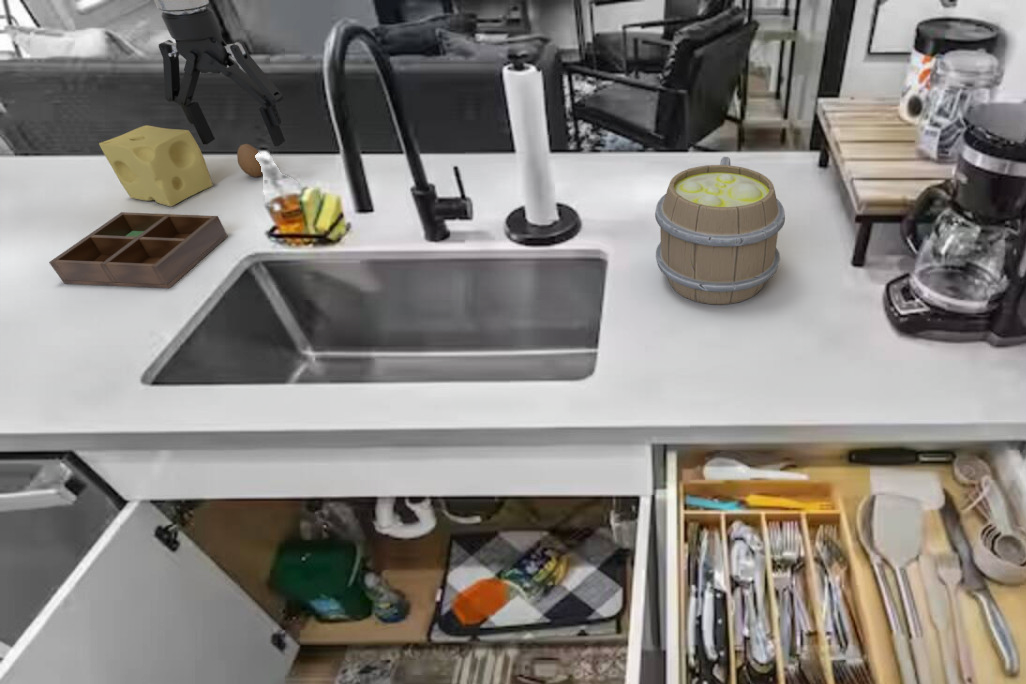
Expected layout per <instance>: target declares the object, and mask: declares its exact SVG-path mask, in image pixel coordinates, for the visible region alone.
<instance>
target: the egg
mask: <svg viewBox="0 0 1026 684" xmlns="http://www.w3.org/2000/svg"><path fill="white" fill-rule="evenodd" d="M258 152H259V153H260V151H259V150H258V149H256V147H254V146H253V145H251V144H248V143H243V144H240V145H239V147H238V149H237V152H236V158H237V163H238V166H239V168H240V169H241V170H242V172H244V173H245V175H247V176H250V177H253V178H259V177H262V176H263V175H262V172H261V166H260V164H259V162H258V161H257V160H256V158H255V155H256V154H257V153H258Z"/></svg>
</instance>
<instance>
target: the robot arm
mask: <svg viewBox="0 0 1026 684" xmlns="http://www.w3.org/2000/svg"><path fill="white" fill-rule="evenodd" d="M153 1H154V4H155V6H156V8H157V9H158V10H160V11H163V12H162V13H161V18H162V20H163V22H164V24H165V27H166V29H167V31H168V34H169V35H170V37H171V38H172V39H173V40H174V41H175V42H173V40H171V39H167V40H165V41H163V42H160V43H159V44H158V49H159V51H160V55H161V57H162V65H163V67H162V68H163V83H164V99H165V100H166V101H167V102H168V103H173V102H174V103H176V104H178V105H179V106H180V107H181V108H182V111H183V113H184V115H185V117H186V119H187V121H188V122H189V124H191V125H193V126H194V129H195V130H196V132H197V135H198V136H199V139H200V141H201V143H202V145H209V144H211V142H213V141H215V139H216V138H215V136H214V133H213V132H212V129H211V127H210V125H209V123H208V120H207V118H206V117H205V115H204V112H203V111H202V108H201V106H200V103H199V102H198V101H194V100H195V98H194V94H195V92H196V87H197V84H198V81H199V77H200V74H208V73H211V74H216V75H217V74H220V73H221V74H222V75H224V76H225V77H227V78H228V79H231V80H232V81H233V82H234V83H235V84H237V85H238V86H239V87H240V88H241V89H242V90H243V91H245V93H247V94H248V95H249V96H250V97H252V99H254V100H255V101H256V102H257V103H258V104H259V105H260V107H259V108H258V110H259V112H260V115H261V117H262V120H263V122H264V125H265V127H266V129H267V132H268V134H269V136H270V139H271V141H272V144H273V146H274V147H280V146H281V145H282V144H283V143H285V142H286V139H285V137H284V136H285V135H284V134H283V131H282V129H281V127H280V125H281V124H282V120H281V115H280V114H279V112H278V109H277V107H276V106H277V104H279V103H280V102H281V101H282V100H283V99H284V96H283V94H282V93H281V91H280V90H279V89H278V88H277V87H276V86H275V84H274V83H273V82H272V81H271V79H270V78H269V77H268V76H267V75H266V73H265V72H264V71H263V70H262V68H261V67H260V66H259V65H258V63H257V62H256V60H254V59H253V58H252V56H251V54H250V53H249V51H248V48H247V47H246V45H245V43H244V42H243V41H242V40H239V41H236V42H234V43H229V44H227V43H226V42H225V40H224V38H223V35H222V30H221V27H220V25H219V21H218V20H217V17H216V14H215V13H214V10H213V9H211V8H210V7H209V6H208V5H210V2H209V0H153ZM179 56H181V57H183V58H184V60H186V61H185V64H184V68H183V72H184V73H183V75H182V80H181V77H180V75H181V74H180V71H181V70H180V57H179ZM230 56H231V57H230ZM233 59H235V60H236V61H235V60H233Z"/></svg>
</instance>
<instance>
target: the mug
mask: <svg viewBox="0 0 1026 684" xmlns="http://www.w3.org/2000/svg"><path fill="white" fill-rule="evenodd" d="M654 218H655V221H656V223H657V224H658V226H659V227H660V241H659V244H658V245H657V246H656V249H655V260H656V264H657V267H658V269H659V270H660V272H661V273H662V274H663V275H664V276H665V277H666V278H667V279H668V282H669V285H670V286H671V288H672V289H673V290H674V291H675V292H676V293H677V294H678V295H679V296H681V297H683V298H685V299H687V300H690V301H693V302H697V303H700V304H706V305H715V306H716V305H720V306H721V305H732V304H736V303H737V304H738V303H741V302H744V301H748V300H749V299H751V298H753V297H754V296H756V295H757V294H758V293H759V292H760V291H761V290H762V288H763V286H764V284H765V283H766V282H767V281H768V280H770V279H771V278H772V277H773V276H774V275H775V274H776V272H777V270H778V267H779V264H780V260H781V256H780V252H779V249H778V247H777V243H778V236H779V232H781V230H782V229H783V227H784V225H785V222H786V211H785V207H784V205H783V203H781V201H780V200H779V199H778V198H777V194H776V190H775V186H774V183H773V182H772V181H771V180H770V178H769V177H767V176H766V175H764V174H762V173H760V172H759V171H756V170H753V169H750V168H746V167H743V166H737V165H731V158H730V157H729V156H723V157H722V158H721V159H720V164H709V165H700V166H695V167H691V168H687V169H685V170H682V171H680V172H678V173H677V174H675V175H674V176H673V177H672V178H671V180H670V182H669V184H668V186H667V188H666V193H664V195H662V196H661V197H660V198H659V200H658V201H657V203H656V207H655V212H654Z"/></svg>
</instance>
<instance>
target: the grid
mask: <svg viewBox="0 0 1026 684" xmlns="http://www.w3.org/2000/svg"><path fill="white" fill-rule="evenodd" d="M228 237H229V235H228V233H227V231H226V230H225V228H224V225H223V223H222V221H221V220H220V218H219V215H201V214H200V215H199V214H174V213H149V212H125V211H121V212H119V213H118V214H116V215H115V216H114V217H112V218H110V219H109V220H108V221H106V222H105V223H103V224H102V225H100V226H99V227H97V228H96V229H94V230H93V231H92V232H90V233H89V234H88V235H86V236H85V237H83V238H82V239H80V240H79V241H77V242H76V243H74V244H73V245H72V246H70V247H69V248H67V249H66V250H64V251H63V252H62V253H60V254H59V255H57V256H56V257H54V258H53V259H51V260H50V261H49V265H50V266H51V267H52V269H53V270H54V271H55V273H56V274H57V275H58V277H59V279H60V280H61V282H62V283H63V284H64V285H85V286H87V285H89V286H107V287H108V286H109V287H135V288H157V289H171V288H172V286H175V284H176V283H178V281H180V280H181V279H182V278H184V276H185V275H186V274H188V273H189V272H190V271H191V270H192V269H193V268H194V267H195V266H197V264H199V263H200V262H201V261H202V260H203V259H204V258H205V257H206V256H207V255H209V254H210V253H212V251H213V250H215V249H216V248H217V247H218V246H219V245H220V244H221V243H222V242H224V241H225V240H226V239H227V238H228Z"/></svg>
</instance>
